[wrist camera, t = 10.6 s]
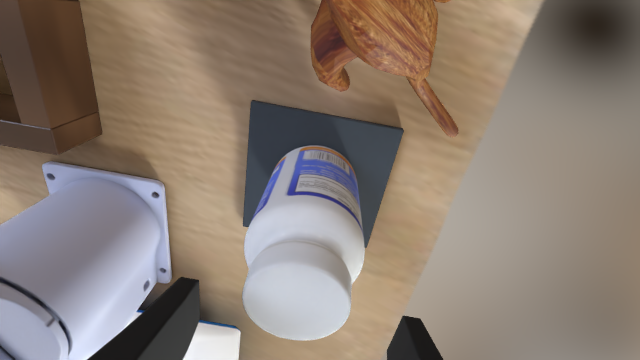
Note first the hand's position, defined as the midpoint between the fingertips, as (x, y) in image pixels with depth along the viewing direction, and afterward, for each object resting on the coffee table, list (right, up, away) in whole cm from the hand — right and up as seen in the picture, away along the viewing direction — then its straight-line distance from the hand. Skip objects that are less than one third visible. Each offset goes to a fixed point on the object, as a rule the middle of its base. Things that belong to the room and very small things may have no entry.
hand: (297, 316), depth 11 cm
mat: (0, +5, +9) cm, 10 cm away
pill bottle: (0, +5, +9) cm, 10 cm away
